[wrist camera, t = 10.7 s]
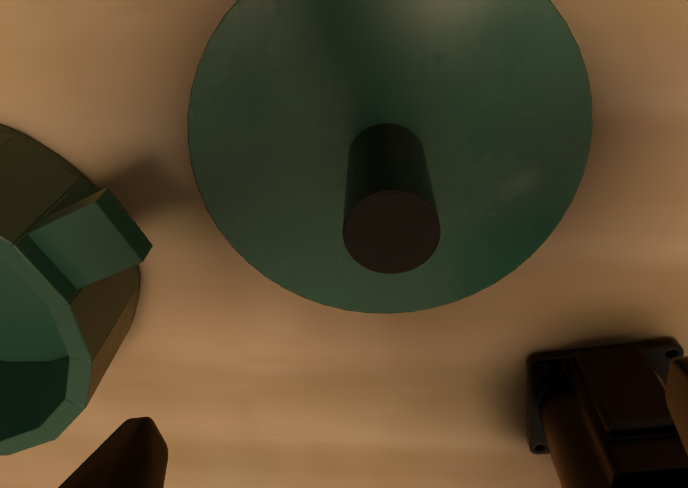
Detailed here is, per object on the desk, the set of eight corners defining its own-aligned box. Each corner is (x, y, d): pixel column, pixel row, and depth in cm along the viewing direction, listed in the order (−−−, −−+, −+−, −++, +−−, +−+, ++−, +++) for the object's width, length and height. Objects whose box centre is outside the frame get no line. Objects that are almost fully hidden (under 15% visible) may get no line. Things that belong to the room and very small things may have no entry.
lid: (617, 228, 21) (699, 334, 16) (305, 336, 25) (289, 452, 19) (517, -169, 15) (598, -206, 10) (115, 52, 18) (16, 113, 13)
